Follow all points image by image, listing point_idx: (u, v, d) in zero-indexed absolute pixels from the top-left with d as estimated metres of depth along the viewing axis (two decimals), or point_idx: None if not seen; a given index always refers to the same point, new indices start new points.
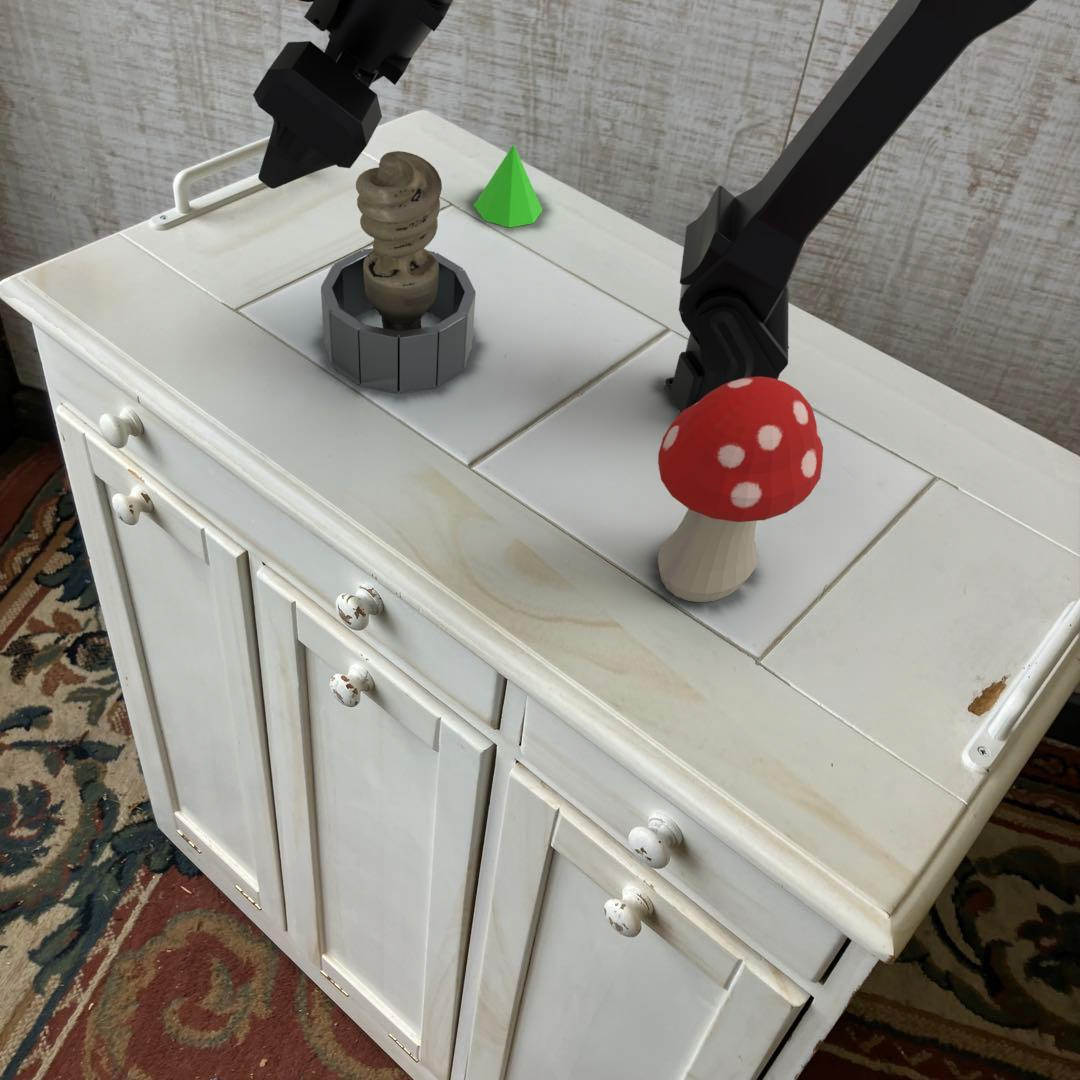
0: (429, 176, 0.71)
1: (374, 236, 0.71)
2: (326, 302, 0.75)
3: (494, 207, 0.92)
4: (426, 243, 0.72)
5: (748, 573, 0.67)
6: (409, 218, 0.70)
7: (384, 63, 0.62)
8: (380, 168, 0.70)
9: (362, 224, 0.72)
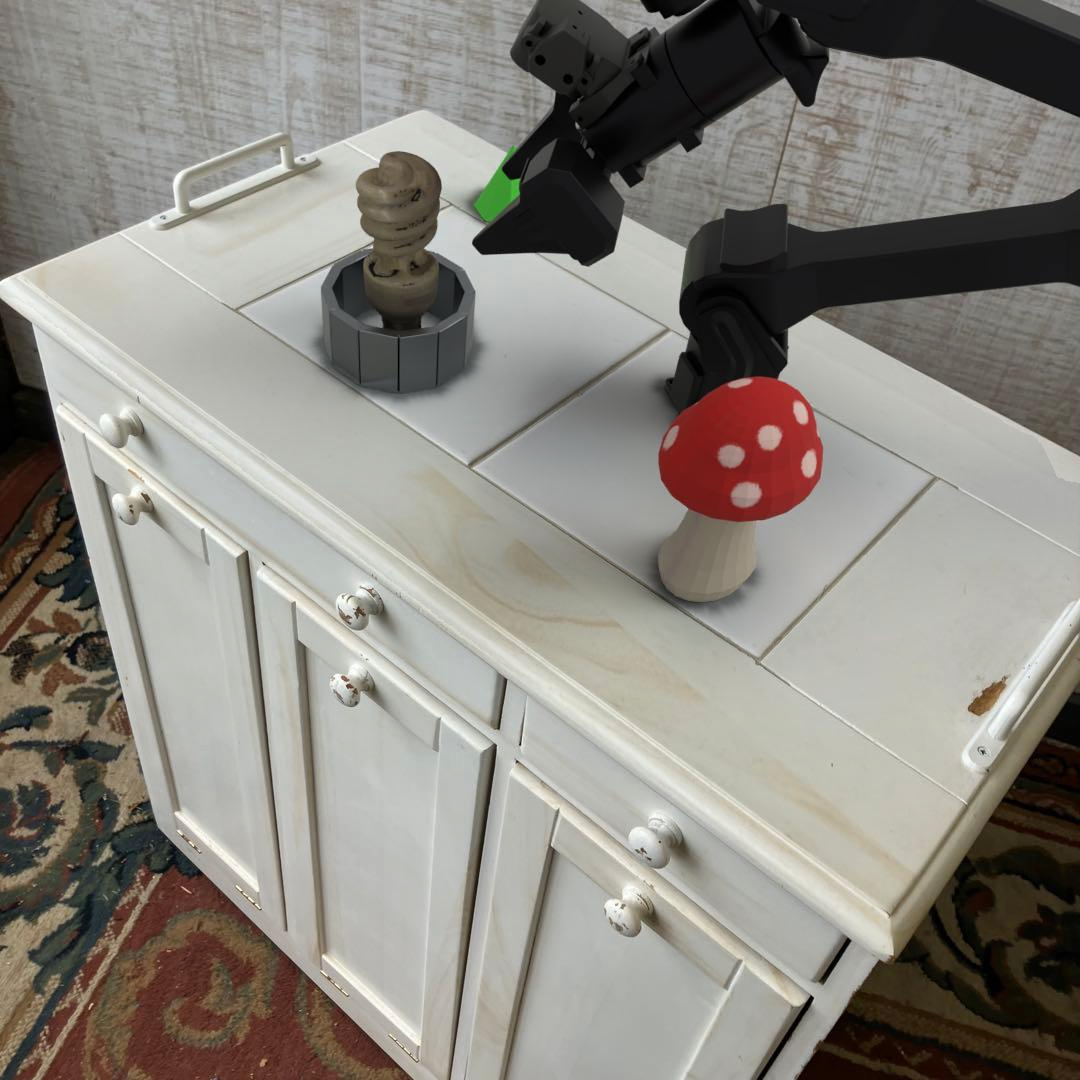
0: (429, 176, 0.71)
1: (374, 236, 0.71)
2: (326, 302, 0.75)
3: (494, 207, 0.92)
4: (426, 243, 0.72)
5: (748, 573, 0.67)
6: (409, 218, 0.70)
7: (628, 167, 0.65)
8: (380, 168, 0.70)
9: (362, 224, 0.72)
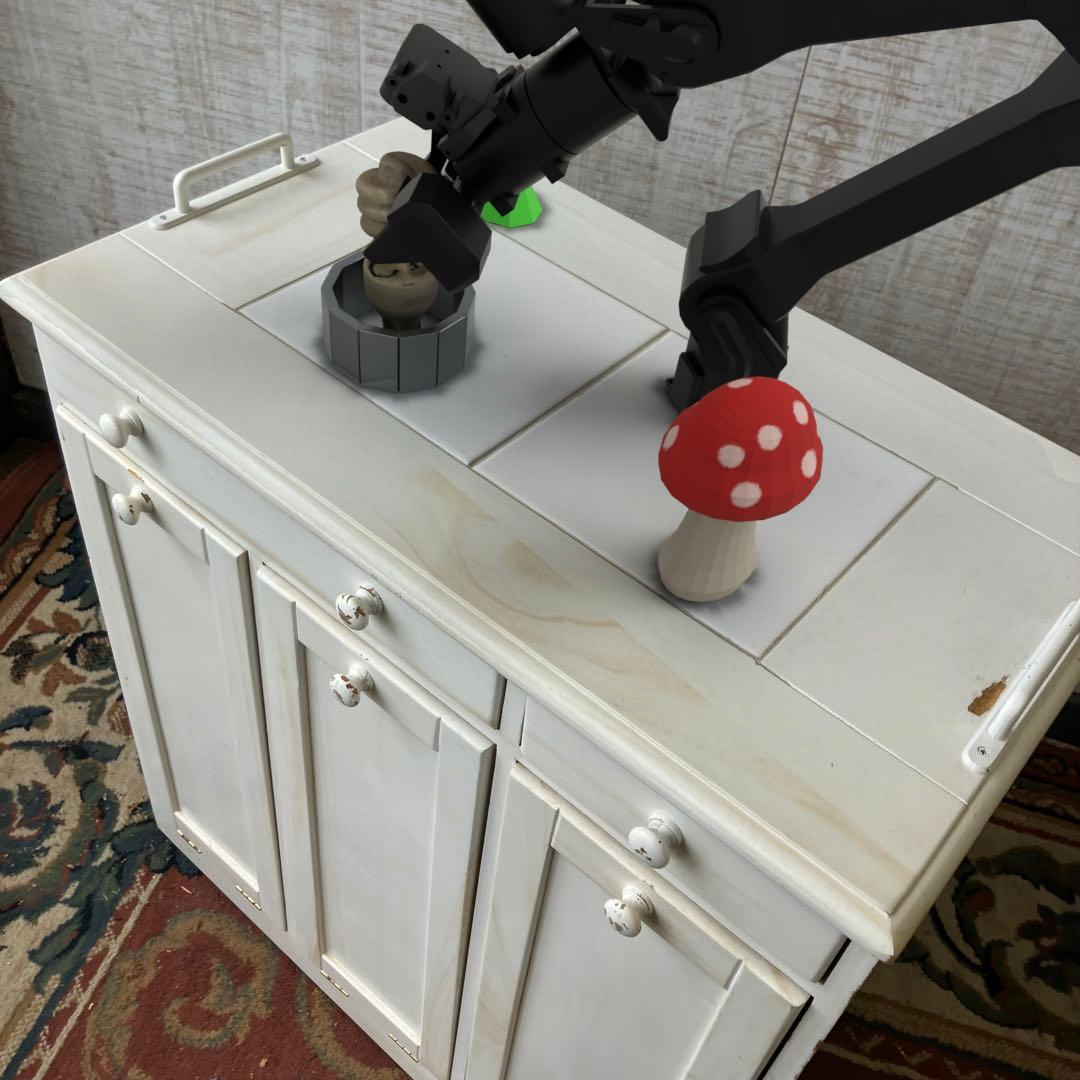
0: None
1: (374, 236, 0.71)
2: (326, 302, 0.75)
3: None
4: None
5: (748, 573, 0.67)
6: None
7: (498, 198, 0.68)
8: (380, 168, 0.70)
9: (362, 224, 0.72)
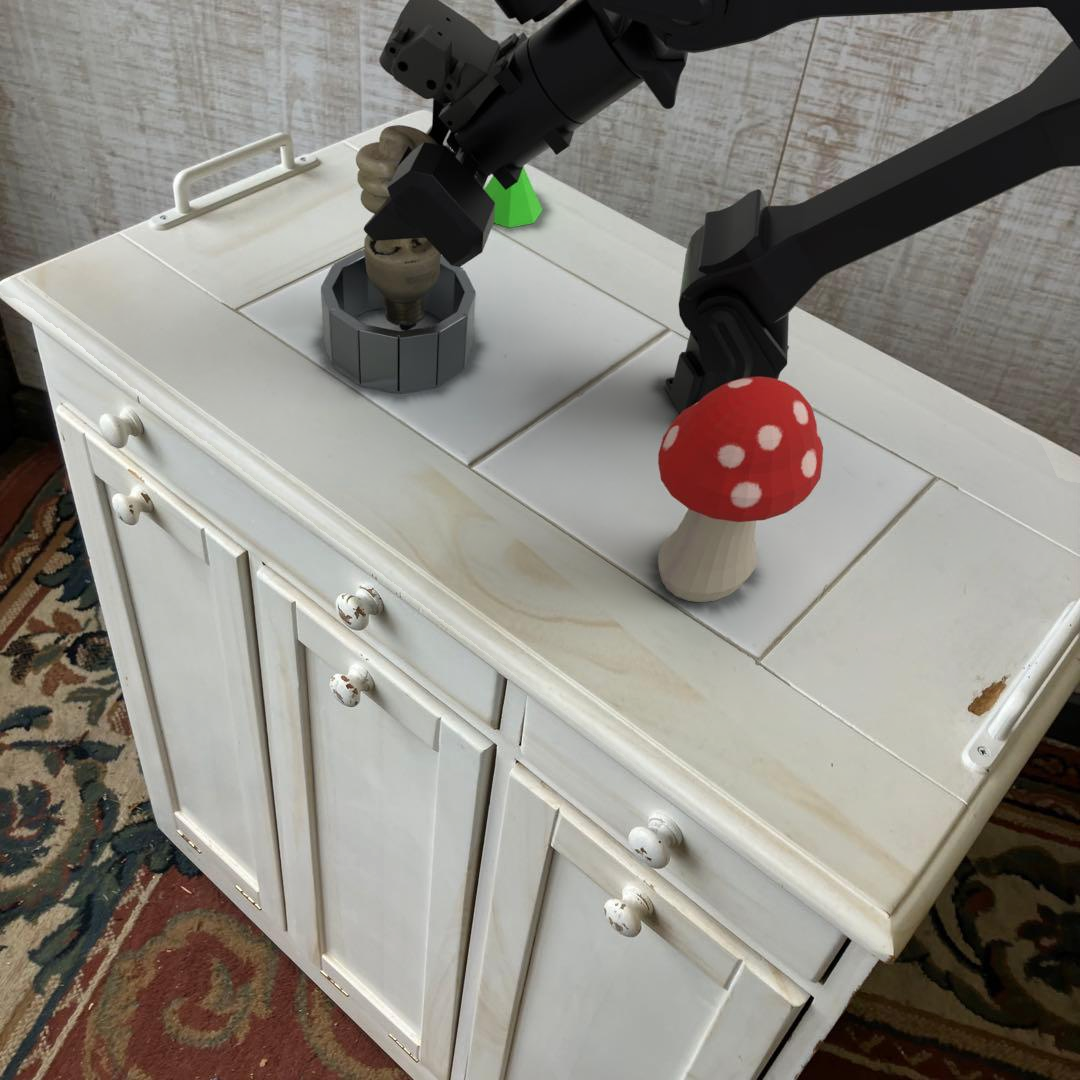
0: None
1: (375, 212, 0.70)
2: (326, 302, 0.75)
3: None
4: None
5: (748, 573, 0.67)
6: None
7: (501, 170, 0.66)
8: (380, 142, 0.69)
9: (363, 199, 0.71)
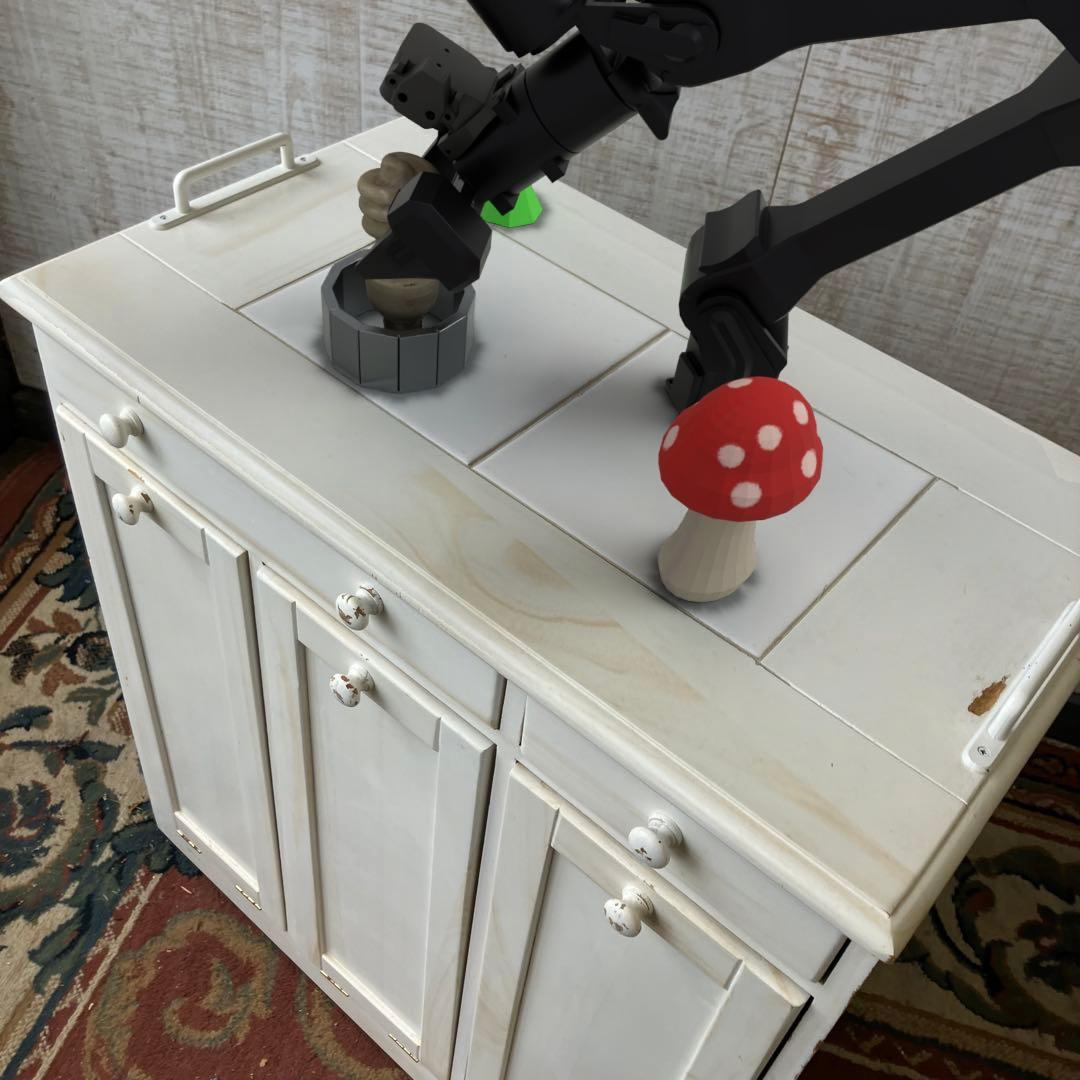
0: None
1: (375, 236, 0.71)
2: (326, 302, 0.75)
3: (494, 207, 0.92)
4: None
5: (748, 573, 0.67)
6: None
7: (498, 197, 0.68)
8: (381, 168, 0.70)
9: (363, 224, 0.72)
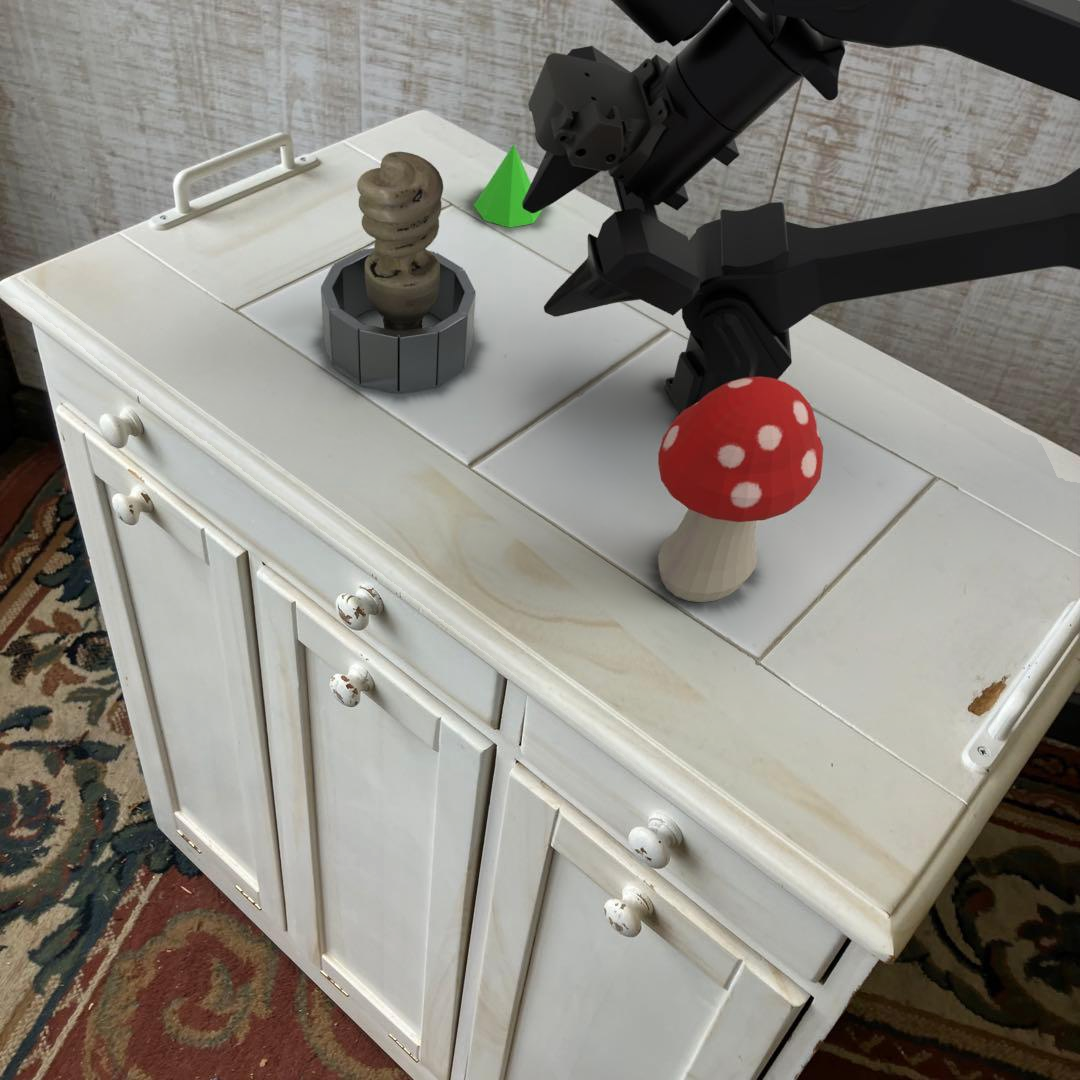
0: (431, 177, 0.71)
1: (375, 236, 0.71)
2: (326, 302, 0.75)
3: (494, 207, 0.92)
4: (427, 244, 0.72)
5: (748, 573, 0.67)
6: (411, 218, 0.70)
7: (672, 196, 0.66)
8: (382, 168, 0.70)
9: (363, 224, 0.72)
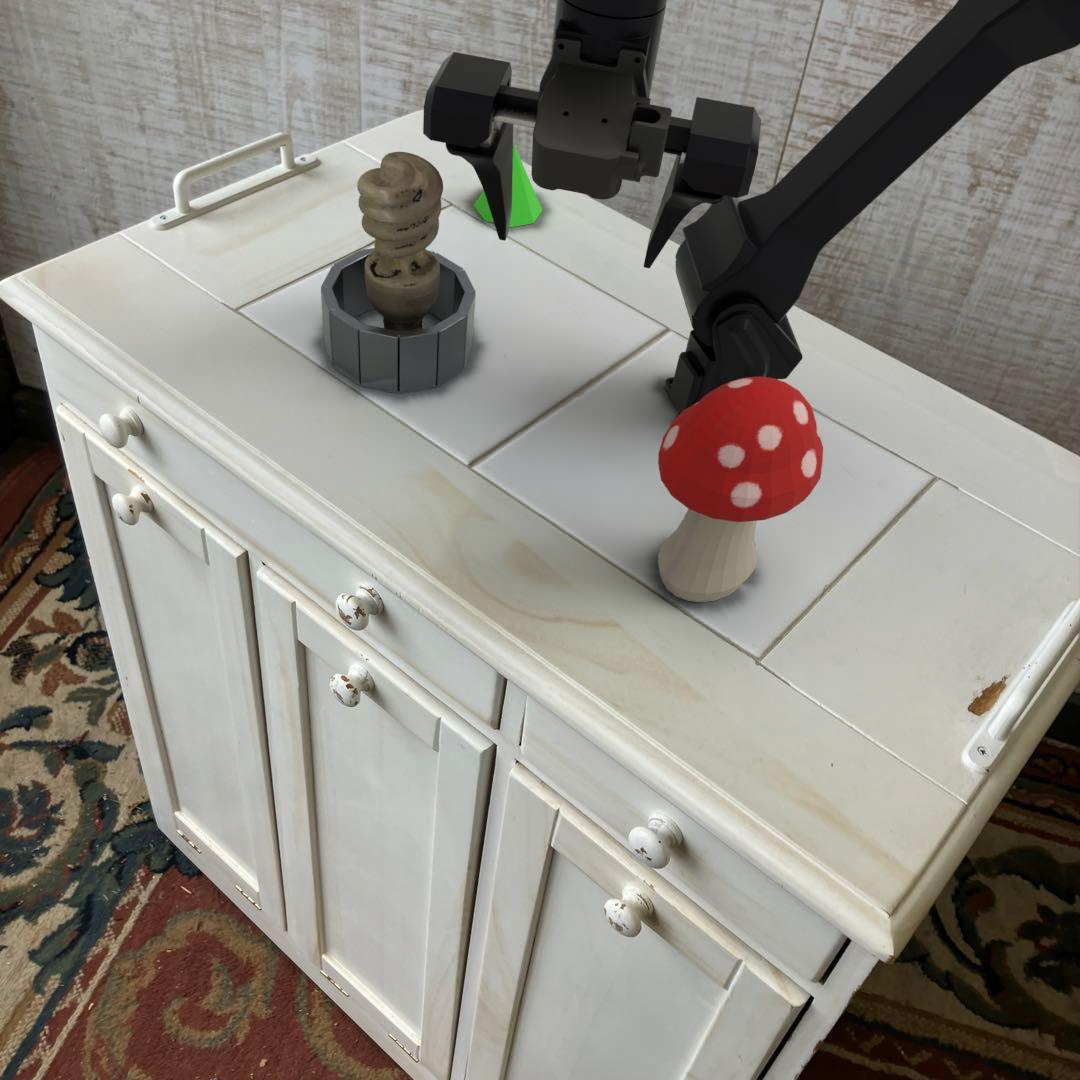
0: (431, 177, 0.71)
1: (375, 236, 0.71)
2: (326, 302, 0.75)
3: None
4: (427, 244, 0.72)
5: (748, 573, 0.67)
6: (411, 218, 0.70)
7: None
8: (381, 168, 0.70)
9: (363, 224, 0.72)
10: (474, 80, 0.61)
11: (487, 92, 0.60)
